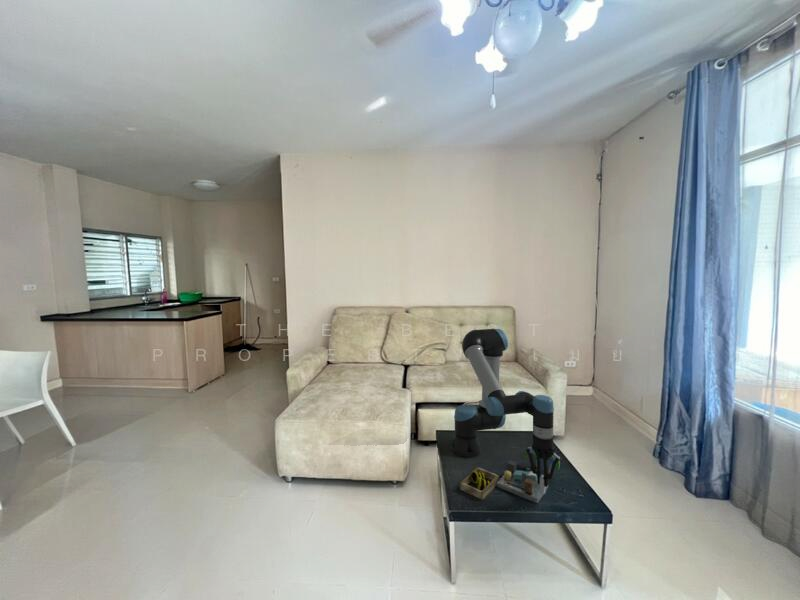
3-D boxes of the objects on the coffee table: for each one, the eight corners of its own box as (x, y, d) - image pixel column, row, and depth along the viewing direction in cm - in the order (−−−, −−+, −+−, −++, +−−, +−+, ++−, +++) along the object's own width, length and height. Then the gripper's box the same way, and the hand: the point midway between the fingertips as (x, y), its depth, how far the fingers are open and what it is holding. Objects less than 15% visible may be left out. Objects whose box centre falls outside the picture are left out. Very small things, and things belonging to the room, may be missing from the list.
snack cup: (563, 473, 150) (563, 451, 150) (554, 483, 143) (554, 460, 142) (529, 460, 161) (529, 440, 161) (520, 469, 154) (520, 448, 154)
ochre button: (503, 478, 144) (503, 472, 143) (505, 475, 146) (505, 469, 146) (509, 480, 142) (509, 475, 141) (512, 477, 144) (512, 472, 144)
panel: (497, 486, 141) (496, 471, 141) (510, 472, 152) (509, 458, 152) (537, 503, 130) (537, 486, 130) (548, 486, 141) (548, 471, 140)
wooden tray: (460, 489, 140) (460, 482, 140) (477, 473, 152) (477, 467, 151) (482, 499, 133) (482, 492, 133) (499, 482, 145) (499, 475, 144)
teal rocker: (514, 478, 143) (512, 473, 143) (517, 474, 146) (516, 469, 146) (536, 481, 136) (535, 475, 137) (539, 477, 139) (538, 471, 140)
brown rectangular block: (524, 490, 134) (524, 481, 134) (527, 487, 137) (527, 478, 136) (531, 493, 132) (531, 484, 132) (534, 490, 135) (534, 480, 135)
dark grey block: (507, 471, 148) (507, 463, 148) (510, 468, 151) (510, 460, 150) (513, 474, 146) (513, 465, 146) (516, 471, 149) (516, 462, 149)
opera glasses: (489, 493, 138) (491, 482, 138) (478, 492, 137) (480, 481, 137) (480, 480, 147) (482, 469, 147) (469, 479, 146) (471, 468, 146)
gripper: (523, 434, 131) (523, 490, 133) (557, 443, 123) (557, 504, 124) (529, 427, 137) (529, 481, 138) (563, 436, 129) (562, 494, 130)
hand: (542, 492), depth 131 cm, fingers closed
